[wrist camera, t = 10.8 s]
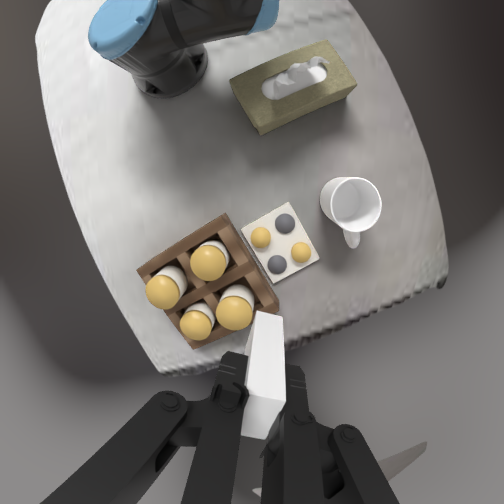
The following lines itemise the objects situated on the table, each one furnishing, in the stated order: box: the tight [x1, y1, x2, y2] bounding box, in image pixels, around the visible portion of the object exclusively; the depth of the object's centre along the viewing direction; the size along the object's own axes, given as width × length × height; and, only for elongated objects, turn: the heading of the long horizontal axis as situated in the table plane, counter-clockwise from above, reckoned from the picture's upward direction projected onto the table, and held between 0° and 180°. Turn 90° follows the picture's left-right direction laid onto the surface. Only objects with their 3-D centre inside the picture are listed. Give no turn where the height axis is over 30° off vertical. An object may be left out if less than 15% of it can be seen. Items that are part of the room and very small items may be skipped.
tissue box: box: [229, 40, 357, 136], centre depth 36 cm, size 19×10×16 cm, turn 118°
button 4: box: [216, 284, 254, 330], centre depth 47 cm, size 6×6×6 cm
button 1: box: [146, 266, 188, 309], centre depth 47 cm, size 6×6×6 cm
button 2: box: [180, 299, 216, 340], centre depth 52 cm, size 6×6×6 cm
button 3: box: [190, 238, 231, 281], centre depth 48 cm, size 6×6×6 cm
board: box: [136, 213, 279, 350], centre depth 52 cm, size 20×20×5 cm
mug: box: [320, 177, 381, 248], centre depth 44 cm, size 12×8×10 cm
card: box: [241, 202, 320, 283], centre depth 50 cm, size 12×10×2 cm
